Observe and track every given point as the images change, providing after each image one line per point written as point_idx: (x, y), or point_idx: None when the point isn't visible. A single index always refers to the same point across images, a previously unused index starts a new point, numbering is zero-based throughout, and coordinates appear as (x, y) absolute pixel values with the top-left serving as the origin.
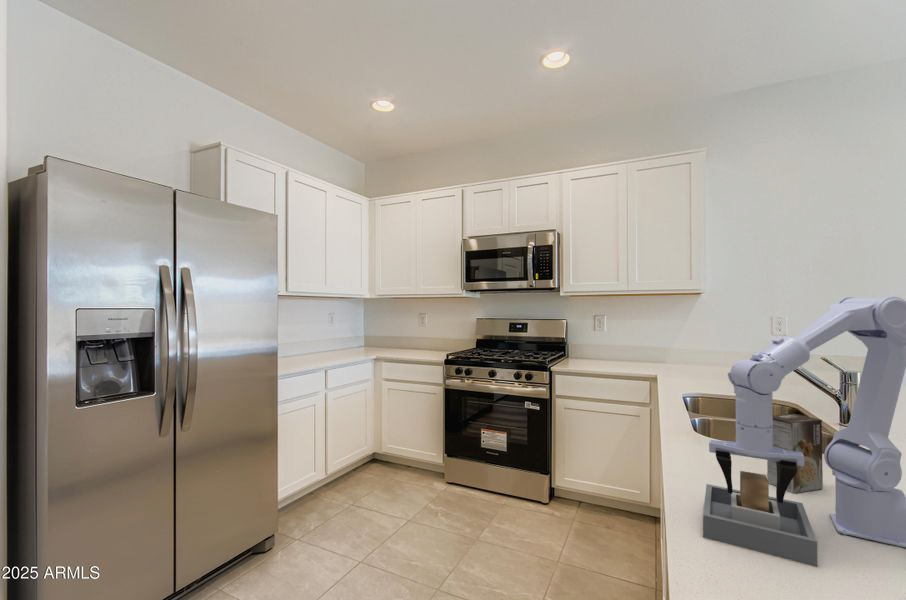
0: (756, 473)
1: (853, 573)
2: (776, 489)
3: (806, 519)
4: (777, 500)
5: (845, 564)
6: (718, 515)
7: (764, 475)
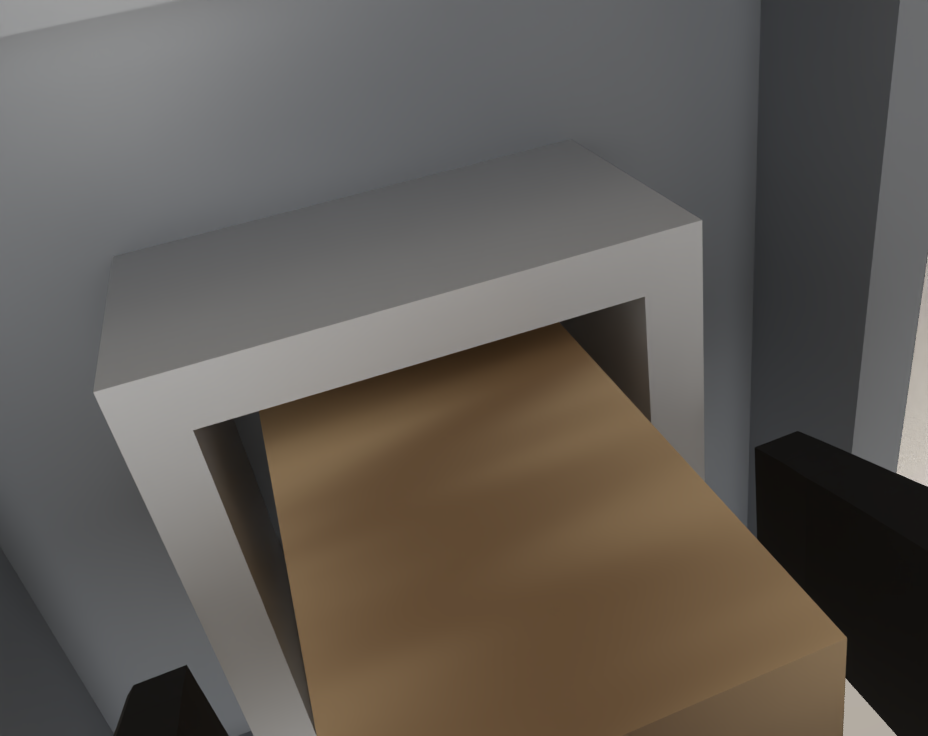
0: (683, 719)
1: (915, 457)
2: (843, 513)
3: (900, 327)
4: (759, 522)
5: (909, 383)
6: (50, 468)
7: (825, 683)
